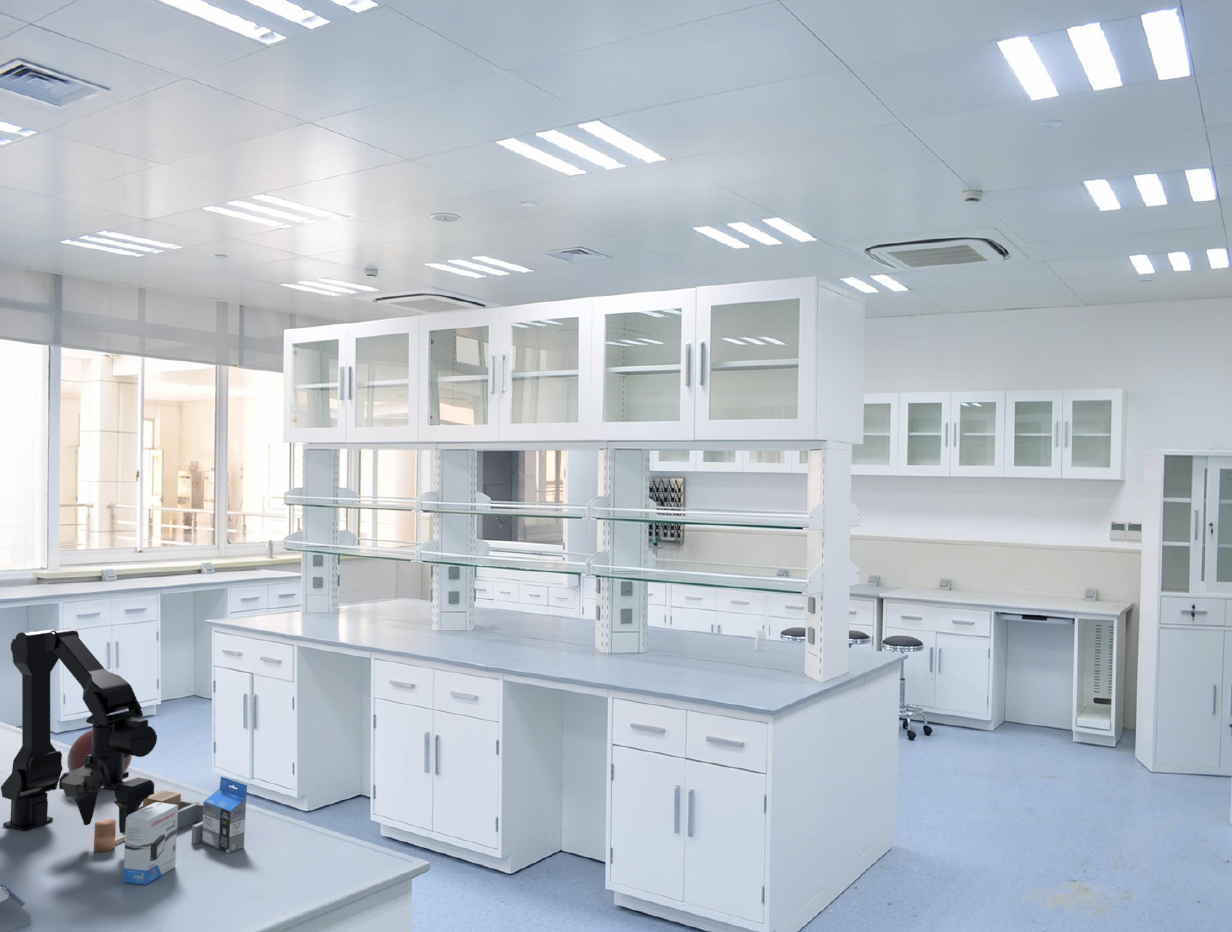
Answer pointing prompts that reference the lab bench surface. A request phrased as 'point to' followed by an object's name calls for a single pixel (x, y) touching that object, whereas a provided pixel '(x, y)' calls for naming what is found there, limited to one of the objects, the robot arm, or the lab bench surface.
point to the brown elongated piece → (107, 827)
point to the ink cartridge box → (225, 817)
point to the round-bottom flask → (85, 752)
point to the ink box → (150, 843)
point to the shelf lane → (190, 818)
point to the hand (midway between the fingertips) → (104, 828)
